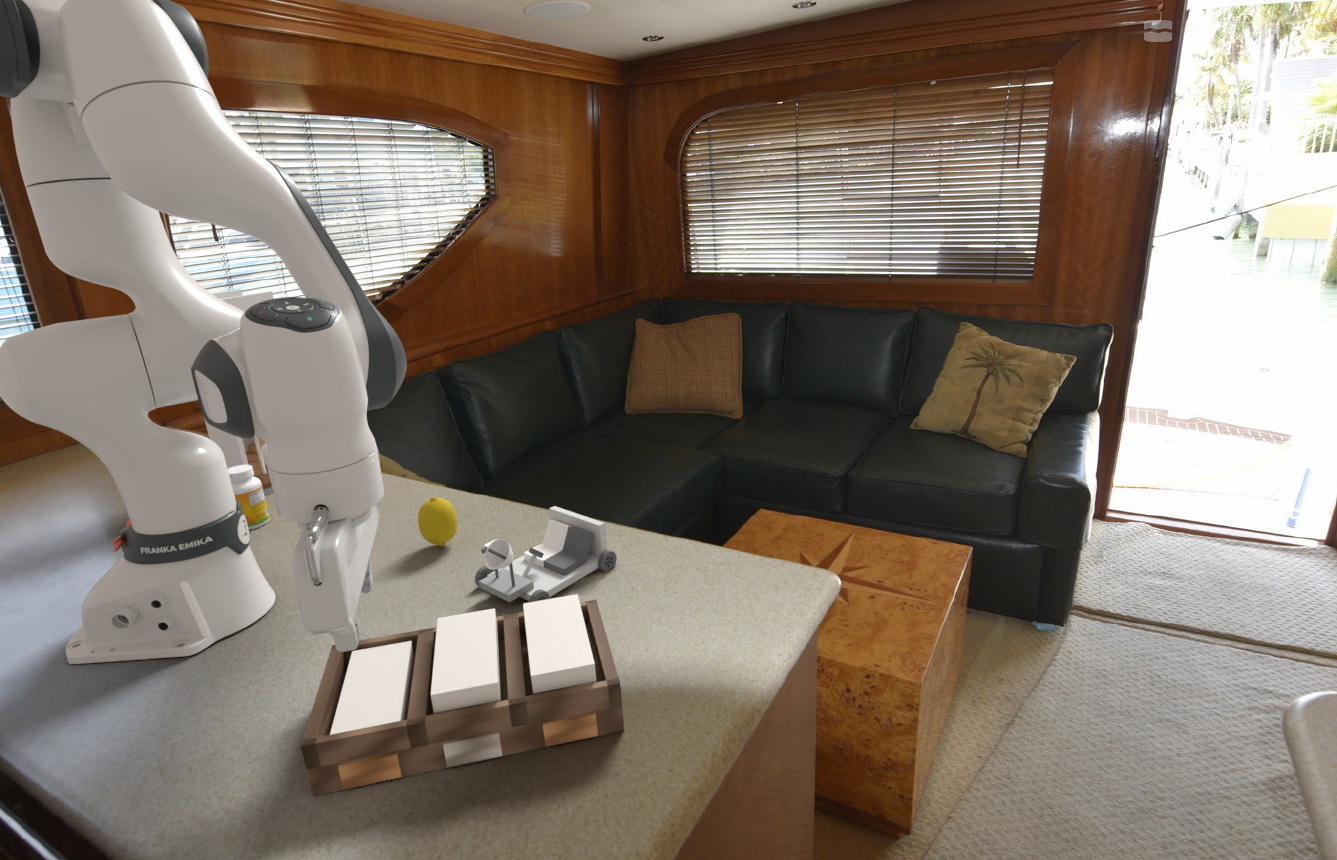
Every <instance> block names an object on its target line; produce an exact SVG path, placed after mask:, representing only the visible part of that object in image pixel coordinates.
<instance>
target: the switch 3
mask: <svg viewBox="0 0 1337 860" xmlns="http://www.w3.org/2000/svg"><path fill="white" fill-rule="evenodd" d="M528 602H529V601H528ZM528 602H524V603H522V604H523V605H522V607H523V612H524V618H525V627H526V636H527V645H528V655H529V664H530V673H531V681H532V689H533V694H535V693H540V692H545V691H550V690H555V689H560V688H565V687H570V686H576V685H581V684H586V683H591V682H596V672H595V663H594V659H593V655H592V651H591V647H590V642H589V638H588V634H587V630H586V626H585V622H584V618H583V614H582V610H581V606H580V602H581V601H580V598H579V594H570V595H566V596H565V595H564V596H559V597H554V598H553V597H552V598H550V599H547V600H541V601H535V602H529V603H528Z"/></svg>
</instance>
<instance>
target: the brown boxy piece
mask: <svg viewBox="0 0 1337 860" xmlns="http://www.w3.org/2000/svg"><path fill="white" fill-rule="evenodd" d="M580 606H581V610H582V614H583V618H584V622H585V626H586V630H587V634H588V638H589V642H590V647H591V651H592V655H593V659H594V663H595V672H596V682H591V683H586V684H581V685H576V686H570V687H565V688H560V689H555V690H550V691H545V692H540V693H535V694H533V689H532V681H531V673H530V664H529V655H528V645H527V636H526V627H525V618H524V611H522V612H515V613H511V614H505V615H500V616H496V619H497V628H498V650H499V673H500V695H501V700H499V701H494V702H489V703H484V704H479V705H474V706H469V707H463V708H458V709H453V710H448V711H443V712H438V713H434V711H433V705H432V700H431V685H432V674H433V663H434V653H435V642H436V631H437V626H436V627H430V628H424V629H423V628H422V629H419V630H413V631H407V632H400V633H396V634H391V635H390V634H389V635H385V636H383V635H382V636H377V637H371V638H366V639H361V640H360V639H359V642H358V646H357V648H356V649H355V650H350V651H344V652H340V651H338V650H337V649H336V646H335V644H333V645H331V647H330V651H329V654H328V657H327V661H326V664H325V667H324V671H323V674H322V676H321V677H322V678H321V680H320V684H319V686H318V690H317V693H316V696H315V699H314V701H313V704H312V705H313V706H312V709H311V712H310V715H309V719H308V720H307V725H306V728H305V730H304V731H305V732H304V734H303V738H302V740H301V743H300V746H299V747H300V749H301V753H302V757H303V762H304V766H305V769H306V772H307V776H308V780H309V784H310V789H311V792H312V796H313V797H316V796H321V795H326V794H330V793H335V792H339V791H344V790H345V791H346V790H349V789H350V790H351V789H354V788H358V787H364V786H369V785H374V784H377V782H378V783H382V782H381V781H383V782H387V781H386V780H388V781H392V780H397V779H401V777H402V778H406V777H405V776H407V777H410V776H415V774H416V775H420V774H419V773H421V774H425V773H424V772H426V773H428V771H430V772H434V771H439V770H443V769H449V768H453V767H458V766H459V767H460V766H463V765H467V764H471V763H476V762H477V763H478V762H482V761H487V760H492V759H497V758H500V757H501V758H502V757H505V756H509V755H510V756H511V755H515V754H520V753H523V752H529V751H533V750H534V751H535V750H537V749H543V748H547V747H552V746H558V745H562V744H567V743H572V742H577V741H580V740H581V741H582V740H584V739H591V738H595V737H600V736H606V735H609V734H613V733H619V732H623V731H625V723H624V722H625V721H624V712H623V702H622V699H623V698H622V689H621V687H622V686H621V681H620V679H619V674H618V671H617V668H616V667H617V666H616V665H615V661H614V657H613V654H612V653H613V652H612V651H611V646H610V643H609V640H608V635H607V633H606V629H605V626H604V622H603V618H602V615H601V612H600V608H599V604H598V601H597V599H592V600H587V601H580ZM407 641H412V645H413V650H414V655H415V659H414V666H413V674H412V681H411V689H410V696H409V704H408V711H407V719H406V720H402V721H397V722H392V723H387V724H382V725H377V726H372V727H367V728H361V729H356V730H351V731H346V732H341V733H336V734H331V735H330V732H331V728H332V725H333V721H334V717H335V714H336V710H337V706H338V702H339V699H340V695H341V691H342V687H343V684H344V680H345V676H346V673H347V669H348V665H349V661H350V658H351V654H352V651H356V650H362V649H367V648H373V647H379V646H384V645H390V644H396V643H401V642H407ZM396 778H397V779H396ZM391 779H392V780H391ZM373 783H374V784H373Z"/></svg>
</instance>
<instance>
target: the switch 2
mask: <svg viewBox="0 0 1337 860" xmlns="http://www.w3.org/2000/svg"><path fill="white" fill-rule="evenodd" d="M496 617H497V612H496V608H490V609H484V610H476V611H472V612H471V611H470V612H466V613H459V614H455V615H448V616H442V617H438V618H437V622H436V627H437V631H436V642H435V653H434V663H433V674H432V685H431V700H432V705H433V711H434V713H438V712H443V711H448V710H453V709H458V708H463V707H469V706H474V705H479V704H484V703H489V702H494V701H499V700H501V695H500V673H499V650H498V628H497V619H496Z"/></svg>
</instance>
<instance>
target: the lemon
mask: <svg viewBox="0 0 1337 860" xmlns="http://www.w3.org/2000/svg"><path fill="white" fill-rule="evenodd" d="M458 522H459V521H458V516H457V513H456V510H455V508H454V506H453V505H452V503H451V502H450V501H448V500H446V499H444V498H442V497H437V496H431V498H430V499H428V500H426V501H425V502H424V503H423V504H422V505H421V506H420V509H419V511H418V515H417V525H418V528H419V530H418V531H419V532H420V535H421V536H422V538H423V539H424V540H425V541H426V542H428V543H430V544H433V545H437V546H439V547H444V546H445V545H446V543H448V542H450V541H451V540H452V539H453V538H454V537H455V536H456V534H457V532H458Z"/></svg>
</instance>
